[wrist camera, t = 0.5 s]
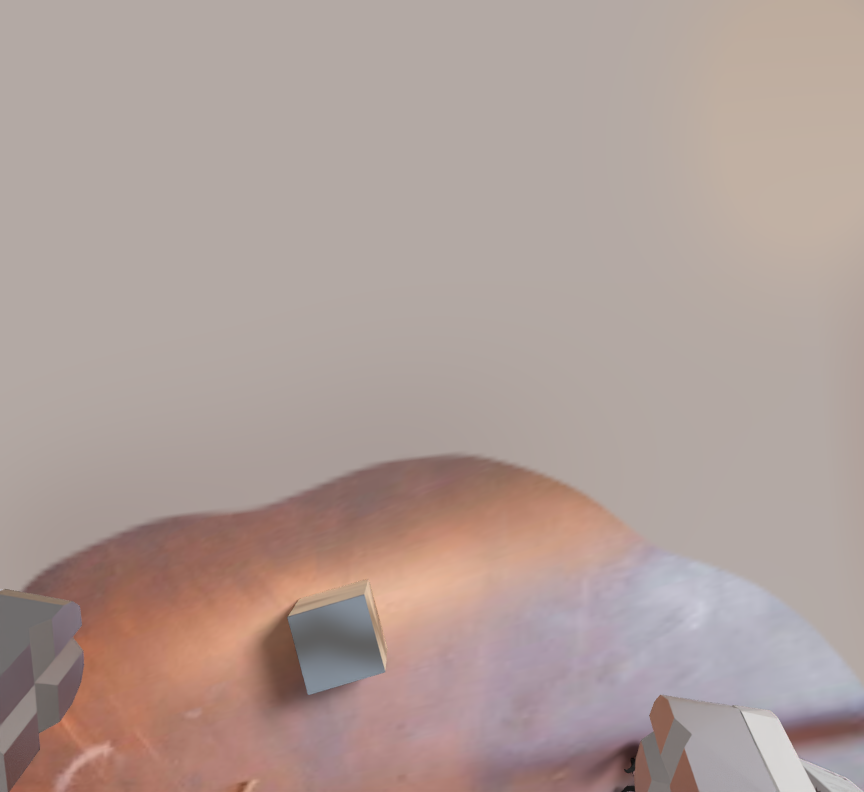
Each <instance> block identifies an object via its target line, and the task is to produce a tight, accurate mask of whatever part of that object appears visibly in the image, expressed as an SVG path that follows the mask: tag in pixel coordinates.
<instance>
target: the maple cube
mask: <svg viewBox="0 0 864 792" xmlns="http://www.w3.org/2000/svg"><path fill="white" fill-rule="evenodd" d="M287 618H288V622H289V625H290V629H291V633H292V637H293V640H294V644H295V648H296V652H297V655H298V659H299V663H300V667H301V670H302V674H303V678H304V681H305V685H306V689H307V693H308V695H311V694H314V693H317V692H321V691H324V690H327V689H331V688H334V687H337V686H341V685H344V684H347V683H351V682H354V681H357V680H361V679H364V678H367V677H371V676H374V675H377V674H381V673H384V672H385V668H386V657H387V645H386V641H385V637H384V634H383V630H382V626H381V623H380V619H379V615H378V612H377V608H376V605H375V601H374V597H373V594H372V590H371V586H370V583H369V579H365V580H362V581H358V582H355V583H351V584H348V585H345V586H341V587H338V588H334V589H331V590H327V591H324V592H321V593H317V594H314V595H310V596H307V597H303V598H300V599H299V600H298V602H297V603H296V605H295V606H294V608H293V609H292V611H291V613H290V614H289V616H288V617H287Z"/></svg>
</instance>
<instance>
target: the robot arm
mask: <svg viewBox="0 0 864 792" xmlns="http://www.w3.org/2000/svg"><path fill="white" fill-rule="evenodd" d="M81 626H82V622H81V613H80V606H79V605H77V604H76V603H74V602H73V601H68V600H63V599H57V598H52V597H46V596H41V595H36V594H30V593H25V592H19V591H14V590H8V589H4V590H2V589H0V792H10V790H11V789H12V787H13V786H14V785H15V783H16V782H17V781H18V779H19V778H20V776H21V775H22V774H23V772H24V771H25V769H26V768H27V767H28V765H29V764H30V763H31V761H32V760H33V758H34V757H35V756H36V754H37V753H38V751H39V750H40V743H39V733H40V732H42V731H44V730H46V729H47V728H49V727H51V726H53V725H55V724H56V723H58V722H60V721H61V719H62V718H63V716H64V715H65V713H66V712H67V710H68V709H69V708H70V706H71V705H72V703H73V700H74V698H75V695H76V693H77V691H78V688H79V686H80V683H81V679H82V673H83V667H84V655H83V650H82V649H81V647H80V646H79V645H78V644H77V642H76V641H75V640H74V638H73V636H74V635H75V633H76V632H77V631H78V630H79V628H80V627H81ZM649 716H650V720H651V723H652V727H653V730H654V732H652V733H651V734H649V735H648V736H646V737H645V738H643V739H642V740H641V742H640V746H639V749H638V753H637V756H636V762H635V776H634V783H635V792H816V790H815V788H814V786H813V784H812V783H811V781H810V779H809V777H808V775H807V773H806V771H805V769H804V767H803V765H802V763H801V761H800V759H799V758H798V756H797V754H796V752H795V750H794V748H793V746H792V744H791V742H790V740H789V738H788V736H787V734H786V732H785V731H784V729H783V727H782V725H781V723H780V721H779V719H778V717H777V716H776V715H775V714H774V713H772V712H771V711H770V710H764V709H757V708H750V707H743V706H736V705H733V706H730V705H725V704H719V703H712V702H705V701H699V700H692V699H685V698H679V697H672V696H666V695H660V696H659V697H658V698H657V699H656V700H655V702H654V704H653V707H652V710H651V713H650V715H649Z"/></svg>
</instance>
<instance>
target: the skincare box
mask: <svg viewBox="0 0 864 792" xmlns="http://www.w3.org/2000/svg"><path fill="white" fill-rule="evenodd" d="M799 759H800V758H799ZM800 761H801V763H802V765H803V767H804V769H805V771H806V773H807V775H808V777H809V779H810V781H811V783H812V784H813V786H814V788H815V790H816V792H863V791H862V790H861V789H860V788H858V787H857V786H856V785H855V784H854V783H852V782H851V781H850V780H849V779H847V778H846V777H843V776H841V775H839V774H836V773H834V772H831V771H829V770H827V769H824V768H822V767H819V766H817V765H814V764H812V763H810V762H807V761H805V760H802V759H800Z"/></svg>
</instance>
